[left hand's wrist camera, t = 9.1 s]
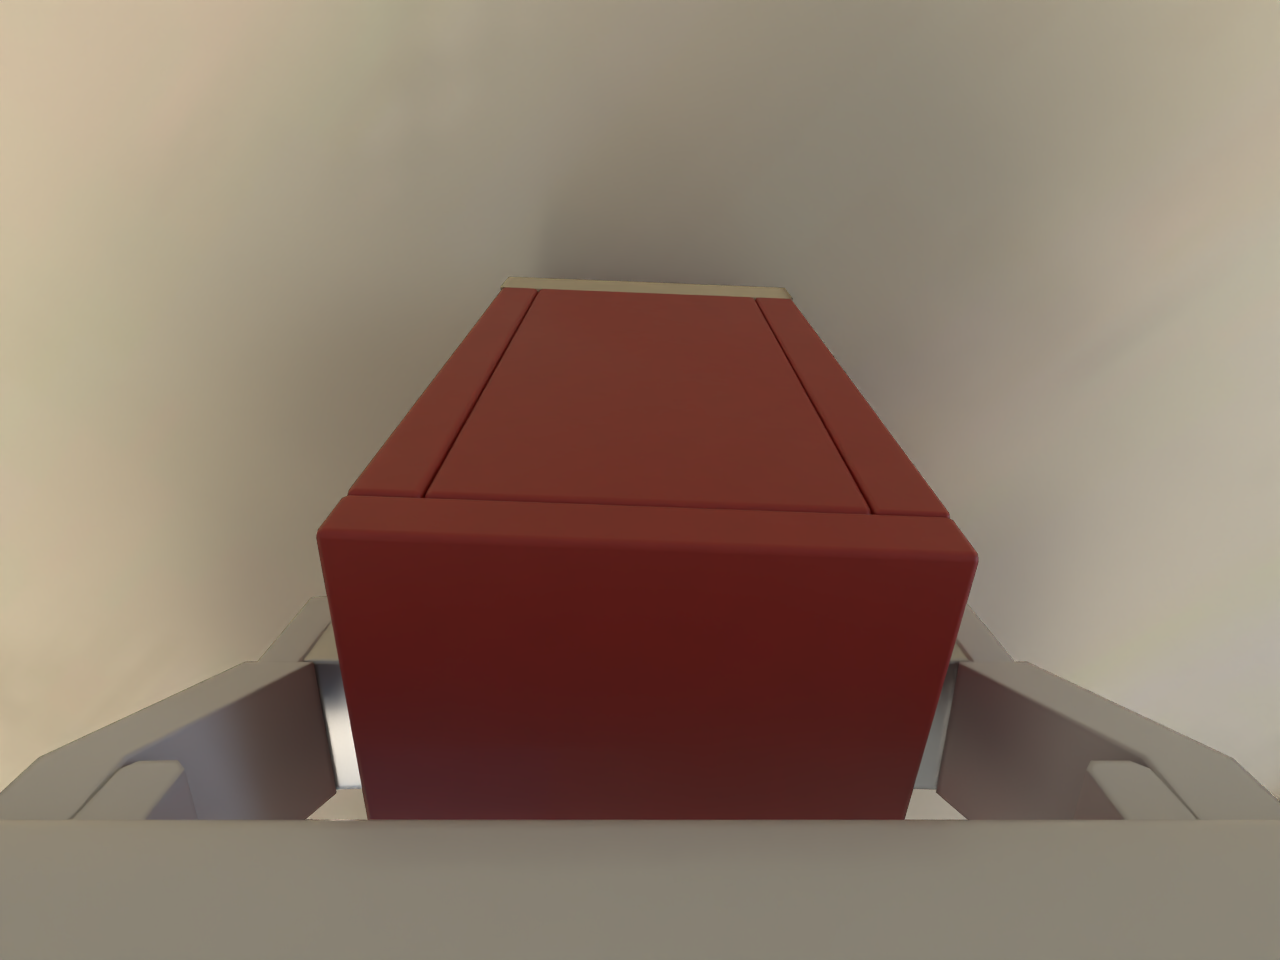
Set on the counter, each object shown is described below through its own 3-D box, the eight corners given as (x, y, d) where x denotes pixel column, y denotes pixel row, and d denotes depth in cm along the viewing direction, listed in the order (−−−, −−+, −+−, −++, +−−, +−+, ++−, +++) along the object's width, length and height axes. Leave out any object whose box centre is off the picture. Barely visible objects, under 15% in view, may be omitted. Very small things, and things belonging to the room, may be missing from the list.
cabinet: (707, 905, 24) (745, 1381, 15) (533, 899, 24) (466, 1375, 15) (784, 287, 15) (986, 555, 6) (508, 276, 15) (309, 531, 6)
